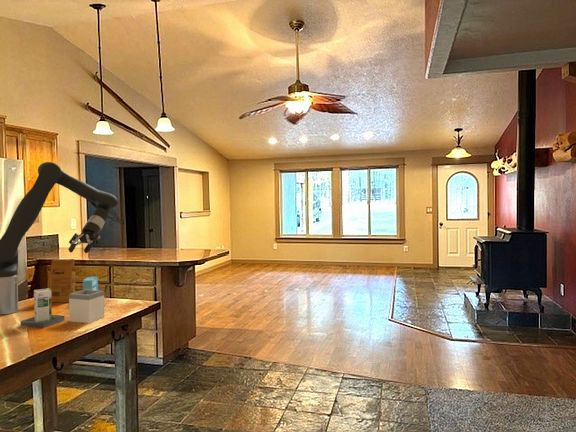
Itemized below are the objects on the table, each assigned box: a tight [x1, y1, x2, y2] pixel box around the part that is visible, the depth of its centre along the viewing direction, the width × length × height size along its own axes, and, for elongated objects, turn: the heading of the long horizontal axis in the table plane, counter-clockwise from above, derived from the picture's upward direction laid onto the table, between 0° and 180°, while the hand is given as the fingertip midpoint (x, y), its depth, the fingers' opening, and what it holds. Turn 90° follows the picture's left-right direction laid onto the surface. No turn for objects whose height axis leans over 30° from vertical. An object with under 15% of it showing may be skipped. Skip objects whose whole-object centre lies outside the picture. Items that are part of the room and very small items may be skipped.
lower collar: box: [20, 314, 66, 329], centre depth 183 cm, size 12×12×2 cm
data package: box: [82, 276, 99, 290], centre depth 223 cm, size 12×4×12 cm, turn 11°
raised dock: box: [68, 289, 105, 324], centre depth 189 cm, size 10×10×12 cm
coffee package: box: [49, 258, 76, 304], centre depth 222 cm, size 10×12×22 cm
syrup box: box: [33, 287, 53, 323], centre depth 182 cm, size 6×6×14 cm
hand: (77, 251), depth 202 cm, fingers open, 8 cm apart
